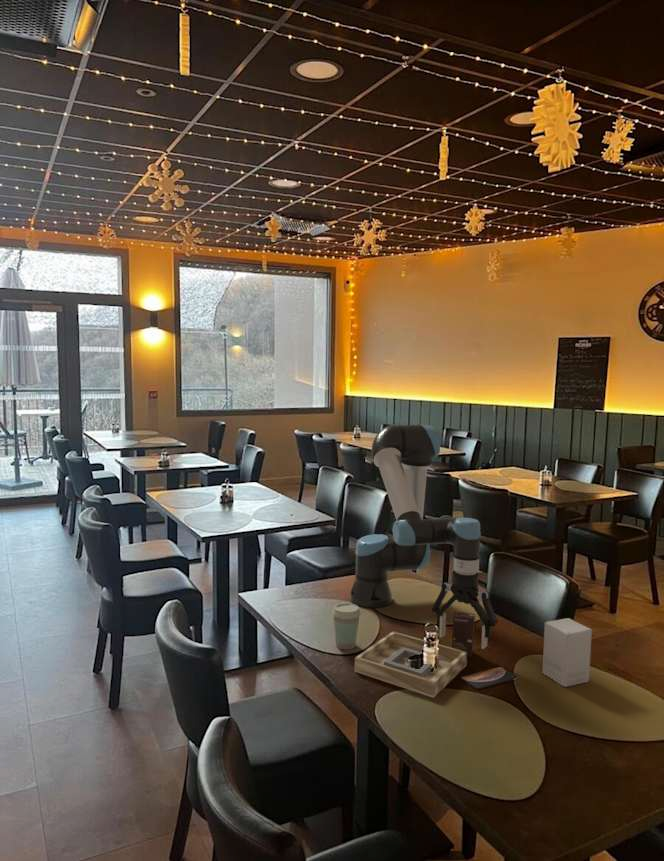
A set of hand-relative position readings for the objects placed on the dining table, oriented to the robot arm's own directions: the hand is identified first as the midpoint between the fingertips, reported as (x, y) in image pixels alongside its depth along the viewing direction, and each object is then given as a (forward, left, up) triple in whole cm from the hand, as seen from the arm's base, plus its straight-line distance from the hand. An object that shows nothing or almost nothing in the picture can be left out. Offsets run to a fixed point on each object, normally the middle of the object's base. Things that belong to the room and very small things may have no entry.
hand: (462, 641), depth 190 cm
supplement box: (-3, +29, -4) cm, 29 cm away
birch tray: (+17, -8, -4) cm, 20 cm away
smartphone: (+10, +12, -4) cm, 16 cm away
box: (0, 0, -4) cm, 4 cm away
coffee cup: (+16, -31, -4) cm, 35 cm away
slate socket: (+17, -8, -4) cm, 20 cm away
